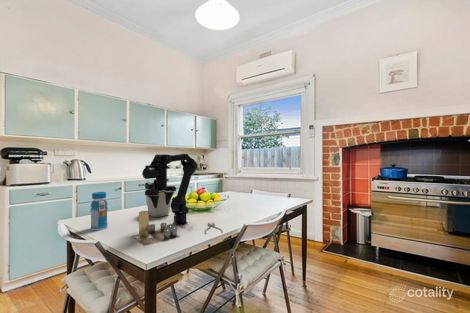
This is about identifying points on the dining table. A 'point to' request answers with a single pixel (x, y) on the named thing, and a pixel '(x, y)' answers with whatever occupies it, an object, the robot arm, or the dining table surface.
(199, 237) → the dining table surface
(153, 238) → the walnut board
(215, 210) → the dining table surface
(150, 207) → the canister
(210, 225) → the pliers
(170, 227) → the spacer posts
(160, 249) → the dining table surface
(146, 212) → the disc
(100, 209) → the beverage bottle
